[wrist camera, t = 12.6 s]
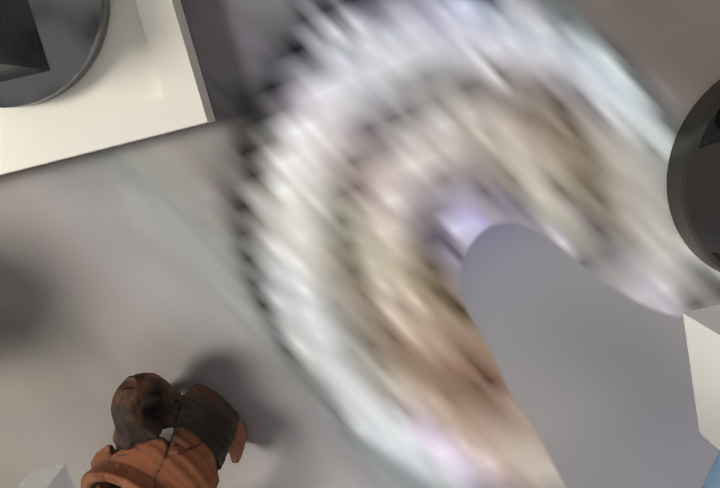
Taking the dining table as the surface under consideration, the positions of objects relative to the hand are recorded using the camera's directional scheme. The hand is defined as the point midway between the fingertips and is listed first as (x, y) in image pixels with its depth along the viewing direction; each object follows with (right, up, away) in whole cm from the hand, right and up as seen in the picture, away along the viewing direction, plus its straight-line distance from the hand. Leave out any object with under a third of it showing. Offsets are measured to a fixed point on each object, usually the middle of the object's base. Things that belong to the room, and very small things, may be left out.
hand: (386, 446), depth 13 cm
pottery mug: (-14, -9, +31) cm, 35 cm away
